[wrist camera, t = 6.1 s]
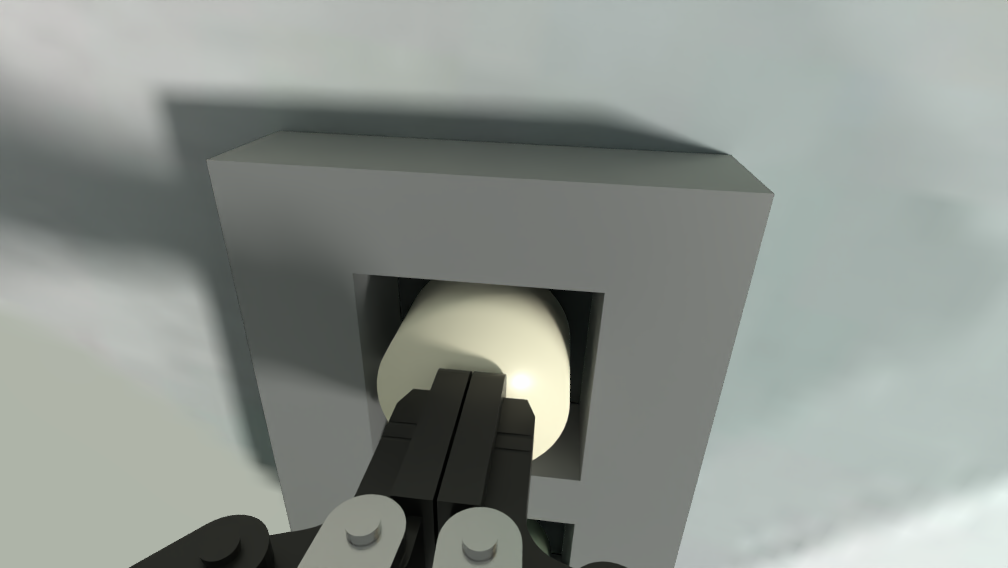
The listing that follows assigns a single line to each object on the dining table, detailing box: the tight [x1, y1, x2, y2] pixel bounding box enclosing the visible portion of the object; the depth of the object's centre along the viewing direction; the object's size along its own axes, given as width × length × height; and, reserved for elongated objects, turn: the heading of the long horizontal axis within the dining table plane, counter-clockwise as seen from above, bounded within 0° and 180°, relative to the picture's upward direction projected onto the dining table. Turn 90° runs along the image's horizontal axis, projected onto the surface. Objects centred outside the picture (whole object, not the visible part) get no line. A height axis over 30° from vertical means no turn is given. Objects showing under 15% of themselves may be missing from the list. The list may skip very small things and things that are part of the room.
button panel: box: [206, 131, 774, 568], centre depth 17 cm, size 22×11×3 cm, turn 179°
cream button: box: [377, 280, 570, 460], centre depth 13 cm, size 4×4×3 cm
